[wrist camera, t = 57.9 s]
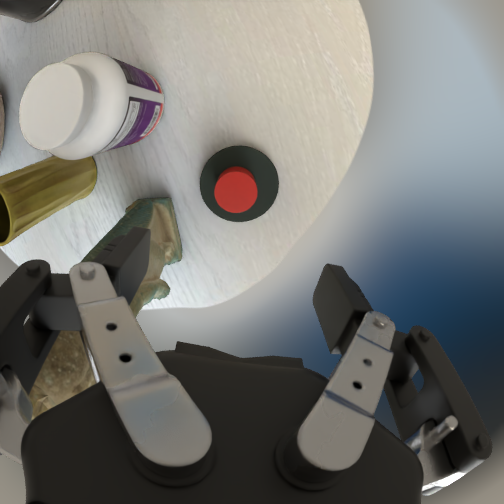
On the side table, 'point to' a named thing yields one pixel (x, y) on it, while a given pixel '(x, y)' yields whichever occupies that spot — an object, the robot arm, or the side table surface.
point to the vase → (42, 192)
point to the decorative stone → (1, 122)
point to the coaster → (253, 163)
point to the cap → (236, 190)
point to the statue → (161, 253)
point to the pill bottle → (89, 106)
